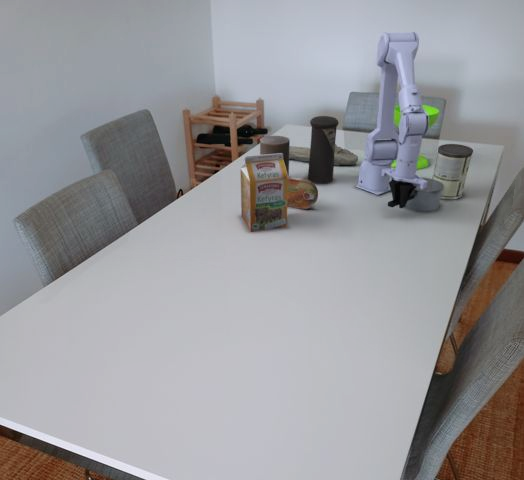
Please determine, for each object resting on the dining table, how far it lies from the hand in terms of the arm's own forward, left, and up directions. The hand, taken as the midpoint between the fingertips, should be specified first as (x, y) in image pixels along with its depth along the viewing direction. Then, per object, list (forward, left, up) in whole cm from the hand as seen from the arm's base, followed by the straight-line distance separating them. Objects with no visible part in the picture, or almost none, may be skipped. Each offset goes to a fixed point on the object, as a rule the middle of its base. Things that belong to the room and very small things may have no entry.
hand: (399, 206), depth 150 cm
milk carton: (-22, -34, -3) cm, 41 cm away
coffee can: (0, +25, -3) cm, 25 cm away
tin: (-25, -19, -3) cm, 31 cm away
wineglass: (-27, +41, -3) cm, 49 cm away
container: (-35, +3, -3) cm, 35 cm away
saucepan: (0, +6, -3) cm, 7 cm away
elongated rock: (-52, +16, -3) cm, 54 cm away
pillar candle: (-44, -10, -3) cm, 45 cm away
